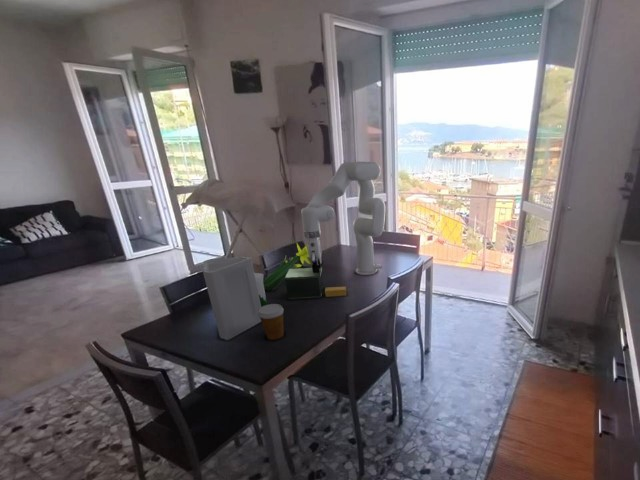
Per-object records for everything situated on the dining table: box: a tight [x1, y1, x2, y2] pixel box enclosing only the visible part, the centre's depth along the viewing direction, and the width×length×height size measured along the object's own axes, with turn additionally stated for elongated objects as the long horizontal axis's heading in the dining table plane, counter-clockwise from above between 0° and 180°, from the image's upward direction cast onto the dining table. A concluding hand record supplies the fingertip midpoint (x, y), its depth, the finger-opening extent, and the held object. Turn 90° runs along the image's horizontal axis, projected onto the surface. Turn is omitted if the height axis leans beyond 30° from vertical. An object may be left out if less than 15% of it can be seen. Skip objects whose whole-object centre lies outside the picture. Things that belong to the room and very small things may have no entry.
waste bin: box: [284, 273, 324, 301], centre depth 177 cm, size 16×13×11 cm
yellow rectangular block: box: [324, 286, 347, 298], centre depth 177 cm, size 10×4×3 cm, turn 96°
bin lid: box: [285, 266, 323, 279], centre depth 174 cm, size 16×13×5 cm
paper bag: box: [201, 256, 262, 341], centre depth 144 cm, size 19×15×28 cm
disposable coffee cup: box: [258, 303, 285, 341], centre depth 139 cm, size 10×10×12 cm
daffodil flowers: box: [263, 242, 311, 292], centre depth 194 cm, size 17×15×35 cm
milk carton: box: [254, 272, 269, 307], centre depth 156 cm, size 9×9×20 cm
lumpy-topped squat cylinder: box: [301, 249, 323, 268], centre depth 221 cm, size 10×13×9 cm
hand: (316, 270), depth 175 cm, fingers closed on bin lid, 5 cm apart
